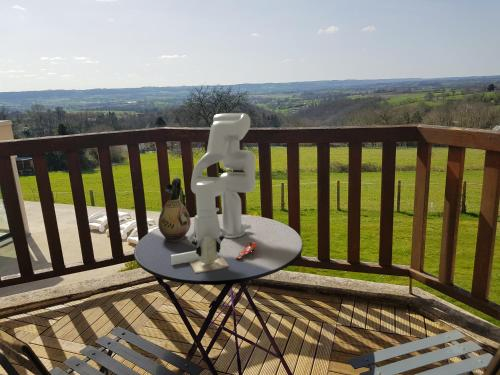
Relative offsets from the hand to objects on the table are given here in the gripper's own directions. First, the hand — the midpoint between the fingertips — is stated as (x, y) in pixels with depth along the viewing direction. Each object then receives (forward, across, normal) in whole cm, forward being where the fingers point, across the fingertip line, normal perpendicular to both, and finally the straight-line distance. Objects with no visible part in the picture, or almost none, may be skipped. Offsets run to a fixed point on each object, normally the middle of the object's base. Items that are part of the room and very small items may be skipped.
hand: (208, 253), depth 149 cm
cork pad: (+5, 0, 0) cm, 5 cm away
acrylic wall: (+5, +4, -7) cm, 10 cm away
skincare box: (+4, 0, 0) cm, 4 cm away
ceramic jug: (+6, +6, -36) cm, 37 cm away
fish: (+6, -19, -4) cm, 20 cm away
